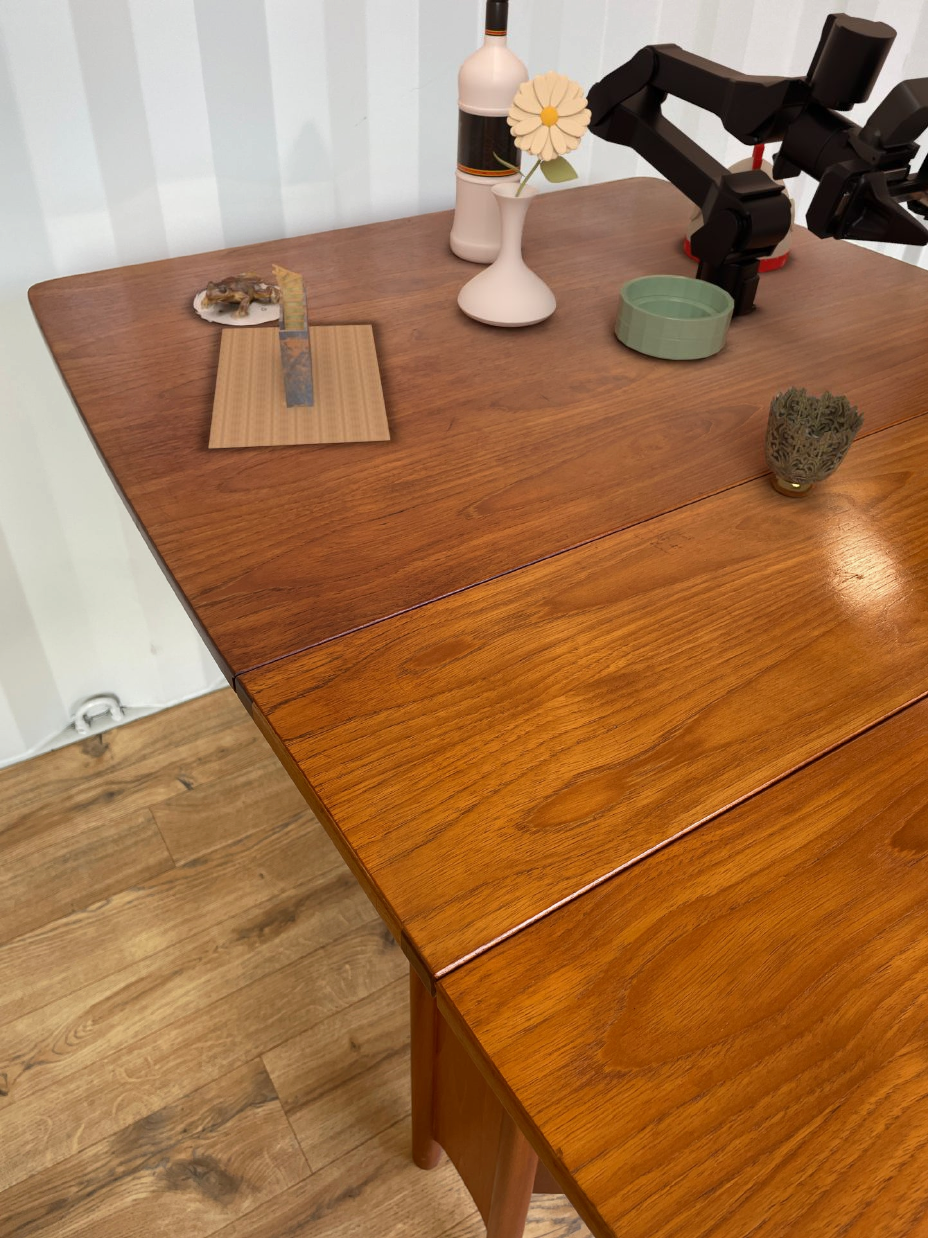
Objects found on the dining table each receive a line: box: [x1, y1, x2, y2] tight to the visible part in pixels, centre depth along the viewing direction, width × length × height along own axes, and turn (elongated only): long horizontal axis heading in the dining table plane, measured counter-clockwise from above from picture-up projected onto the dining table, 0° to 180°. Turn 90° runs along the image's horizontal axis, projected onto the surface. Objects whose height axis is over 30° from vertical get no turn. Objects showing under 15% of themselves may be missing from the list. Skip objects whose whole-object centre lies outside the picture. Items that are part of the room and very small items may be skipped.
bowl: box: [613, 274, 734, 361], centre depth 99 cm, size 12×12×5 cm
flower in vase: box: [457, 70, 591, 328], centre depth 95 cm, size 13×11×25 cm
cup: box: [763, 385, 865, 498], centre depth 76 cm, size 8×7×8 cm
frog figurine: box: [193, 269, 280, 326], centre depth 102 cm, size 12×12×4 cm
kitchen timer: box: [682, 144, 796, 273], centre depth 116 cm, size 14×14×15 cm
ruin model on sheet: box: [208, 263, 391, 449], centre depth 87 cm, size 25×16×10 cm, turn 8°
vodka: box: [449, 0, 530, 265], centre depth 108 cm, size 9×9×30 cm
